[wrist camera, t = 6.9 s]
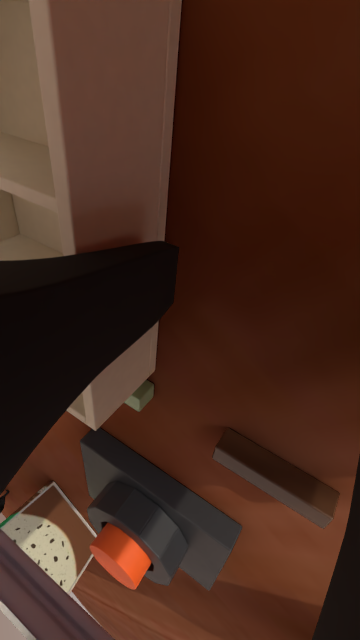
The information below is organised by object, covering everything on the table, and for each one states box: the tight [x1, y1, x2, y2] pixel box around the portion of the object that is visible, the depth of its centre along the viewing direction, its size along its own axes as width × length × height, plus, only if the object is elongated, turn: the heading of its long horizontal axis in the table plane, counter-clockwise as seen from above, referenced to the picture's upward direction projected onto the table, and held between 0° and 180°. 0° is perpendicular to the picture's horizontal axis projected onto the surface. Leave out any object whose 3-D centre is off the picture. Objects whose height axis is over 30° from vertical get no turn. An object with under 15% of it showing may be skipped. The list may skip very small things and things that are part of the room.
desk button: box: [90, 522, 152, 590], centre depth 21 cm, size 4×4×2 cm
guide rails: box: [124, 380, 339, 529], centre depth 11 cm, size 16×17×1 cm
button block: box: [80, 428, 242, 590], centre depth 23 cm, size 11×8×4 cm
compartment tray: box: [0, 0, 182, 431], centre depth 12 cm, size 8×13×4 cm, turn 173°
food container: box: [0, 481, 97, 640], centre depth 37 cm, size 12×6×10 cm, turn 36°
